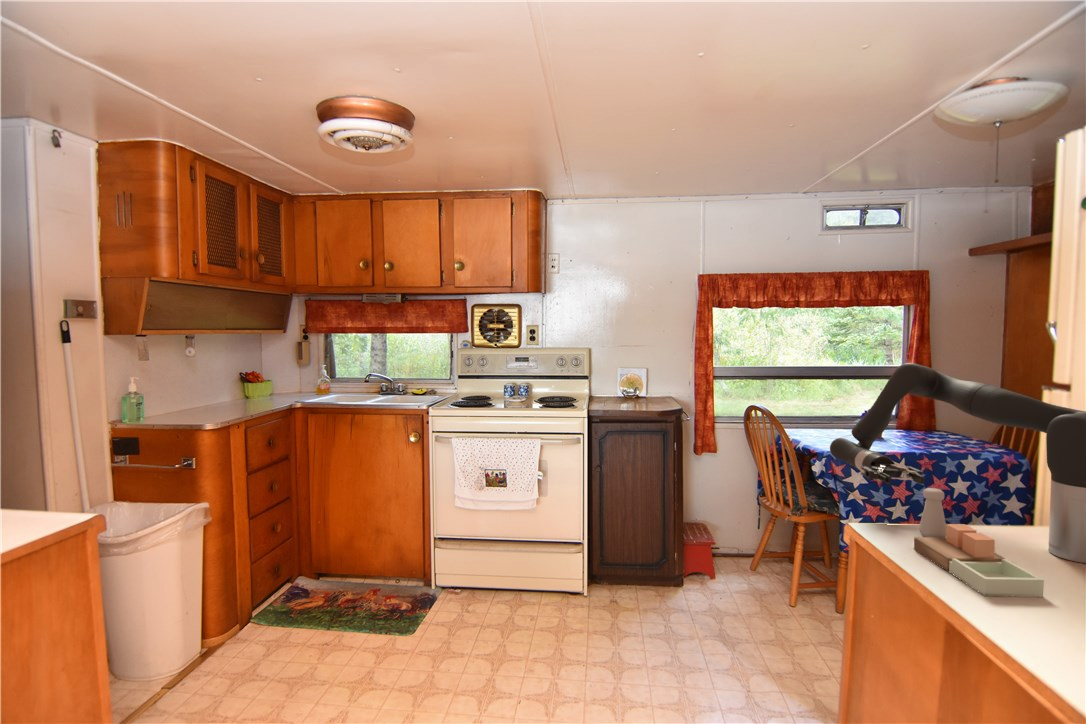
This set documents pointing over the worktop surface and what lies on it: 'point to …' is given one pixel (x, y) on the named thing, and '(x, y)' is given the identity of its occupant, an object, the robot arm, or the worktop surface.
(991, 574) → the tray
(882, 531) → the worktop surface
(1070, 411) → the robot arm
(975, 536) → the peach cube
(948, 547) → the board
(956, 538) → the light orange cube
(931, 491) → the salt shaker
